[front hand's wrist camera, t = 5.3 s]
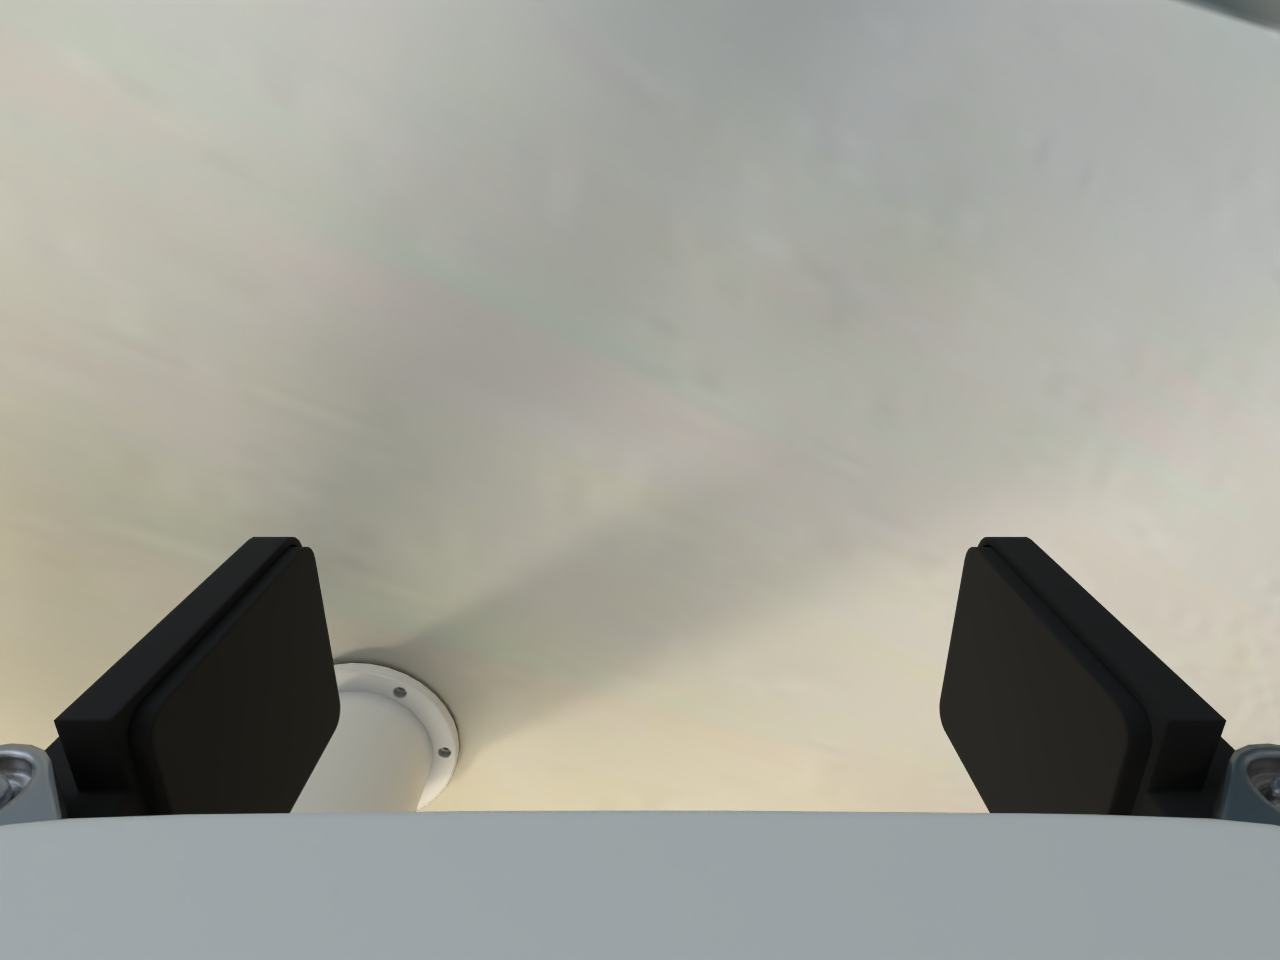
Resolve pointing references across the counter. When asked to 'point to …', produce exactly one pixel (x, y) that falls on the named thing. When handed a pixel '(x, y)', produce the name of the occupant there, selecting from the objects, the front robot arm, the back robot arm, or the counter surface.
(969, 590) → the front robot arm
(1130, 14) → the counter surface
